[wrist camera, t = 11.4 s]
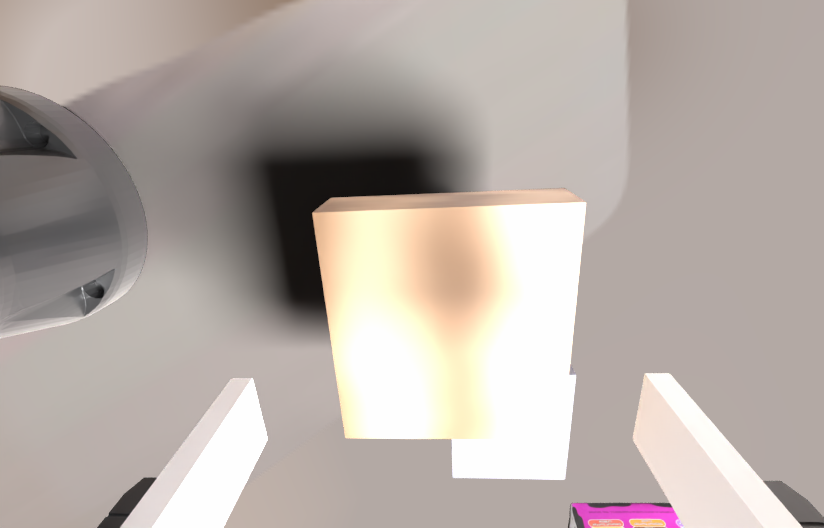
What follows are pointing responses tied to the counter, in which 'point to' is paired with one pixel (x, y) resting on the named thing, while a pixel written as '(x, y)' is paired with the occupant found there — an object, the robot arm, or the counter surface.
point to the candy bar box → (623, 515)
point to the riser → (515, 453)
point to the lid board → (452, 311)
